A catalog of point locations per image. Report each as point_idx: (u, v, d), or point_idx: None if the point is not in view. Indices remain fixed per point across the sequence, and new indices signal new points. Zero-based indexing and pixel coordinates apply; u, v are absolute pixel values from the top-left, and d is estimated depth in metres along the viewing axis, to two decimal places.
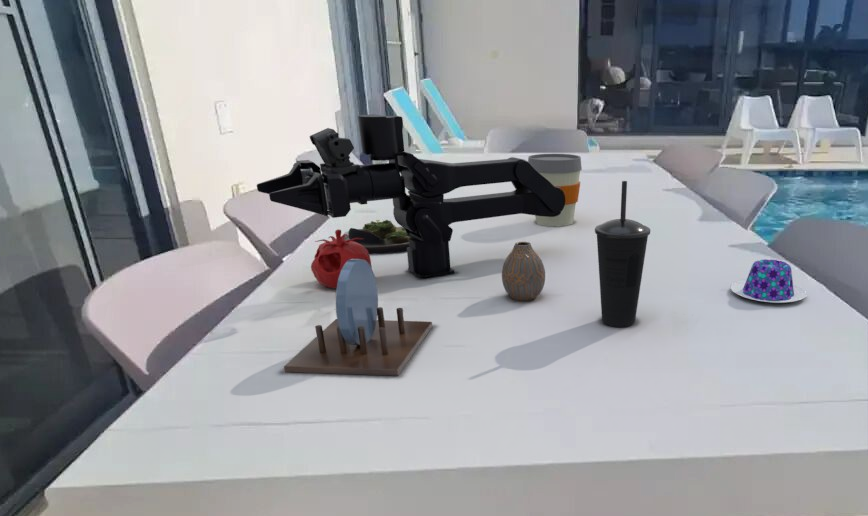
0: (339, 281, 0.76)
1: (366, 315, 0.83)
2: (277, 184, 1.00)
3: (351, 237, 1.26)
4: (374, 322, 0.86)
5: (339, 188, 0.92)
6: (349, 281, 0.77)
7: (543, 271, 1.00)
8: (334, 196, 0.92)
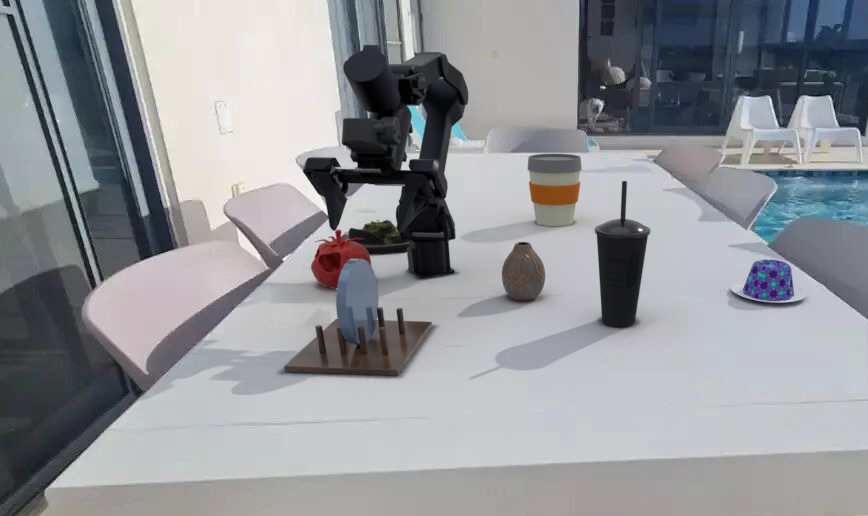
0: (340, 280, 0.77)
1: (367, 315, 0.83)
2: (336, 209, 0.87)
3: (351, 237, 1.26)
4: (374, 322, 0.86)
5: (441, 172, 0.87)
6: (349, 280, 0.77)
7: (543, 271, 1.00)
8: (442, 182, 0.87)
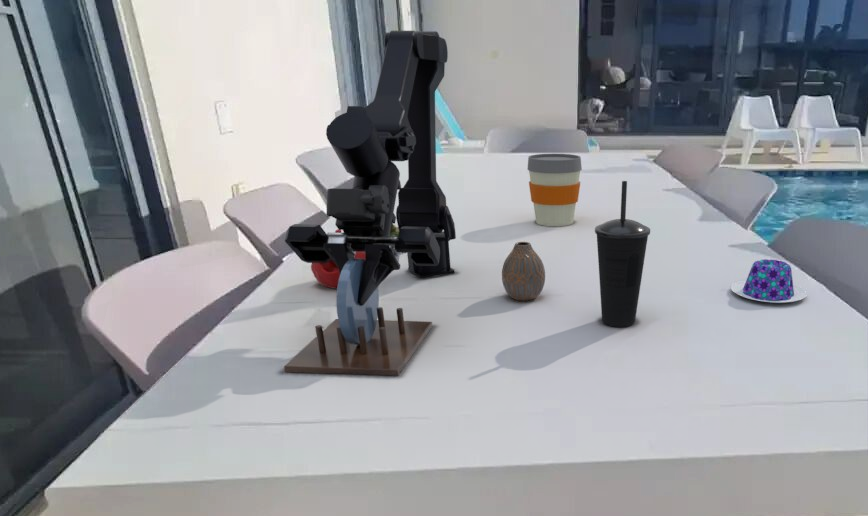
0: (340, 279, 0.77)
1: (367, 315, 0.83)
2: None
3: None
4: (374, 323, 0.86)
5: (433, 240, 0.82)
6: (350, 280, 0.77)
7: (543, 271, 1.00)
8: (434, 250, 0.82)
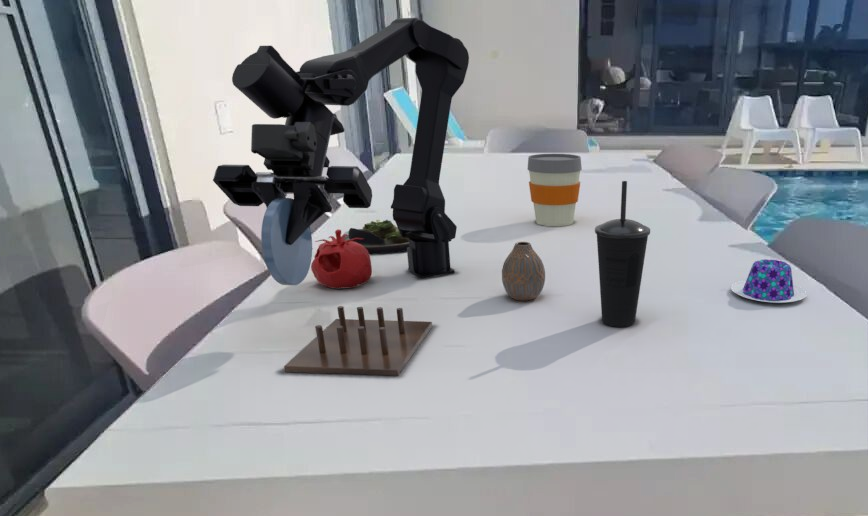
0: (265, 215, 0.77)
1: (298, 257, 0.83)
2: None
3: (351, 237, 1.26)
4: (307, 266, 0.86)
5: (362, 180, 0.82)
6: (275, 216, 0.77)
7: (543, 271, 1.00)
8: (364, 191, 0.82)
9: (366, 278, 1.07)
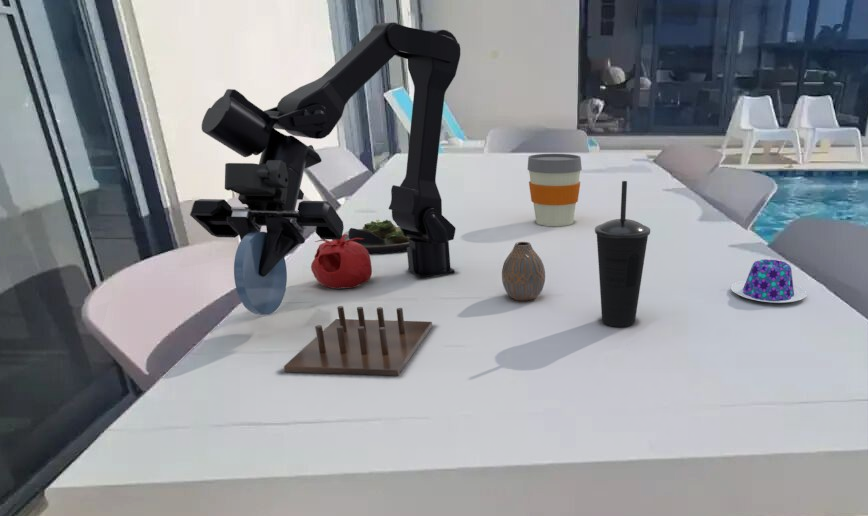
0: (238, 250, 0.80)
1: (271, 287, 0.87)
2: None
3: (351, 237, 1.26)
4: (281, 294, 0.89)
5: (333, 214, 0.85)
6: (247, 251, 0.81)
7: (543, 271, 1.00)
8: (335, 224, 0.86)
9: (366, 278, 1.07)
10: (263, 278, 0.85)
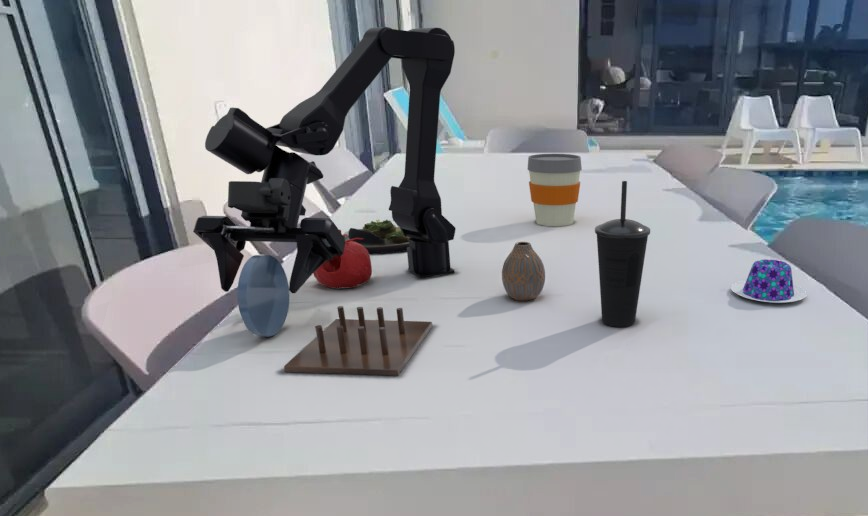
0: (241, 276, 0.81)
1: (274, 308, 0.88)
2: (228, 269, 0.86)
3: (351, 237, 1.26)
4: (285, 314, 0.90)
5: (335, 231, 0.86)
6: (250, 277, 0.81)
7: (543, 271, 1.00)
8: (337, 240, 0.87)
9: (366, 278, 1.07)
10: (266, 301, 0.85)
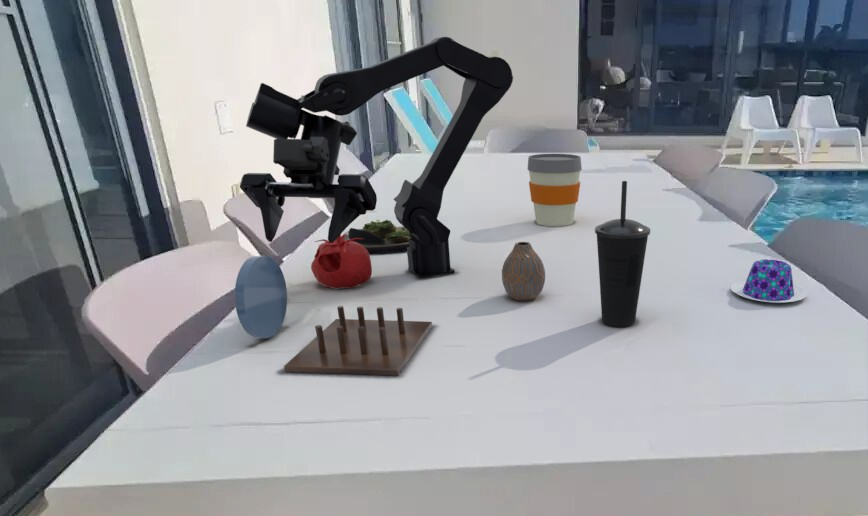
0: (237, 282, 0.80)
1: (273, 308, 0.87)
2: (272, 221, 0.94)
3: (351, 237, 1.26)
4: (283, 312, 0.90)
5: (368, 186, 0.94)
6: (247, 282, 0.81)
7: (543, 271, 1.00)
8: (370, 195, 0.95)
9: (366, 278, 1.07)
10: (264, 303, 0.85)
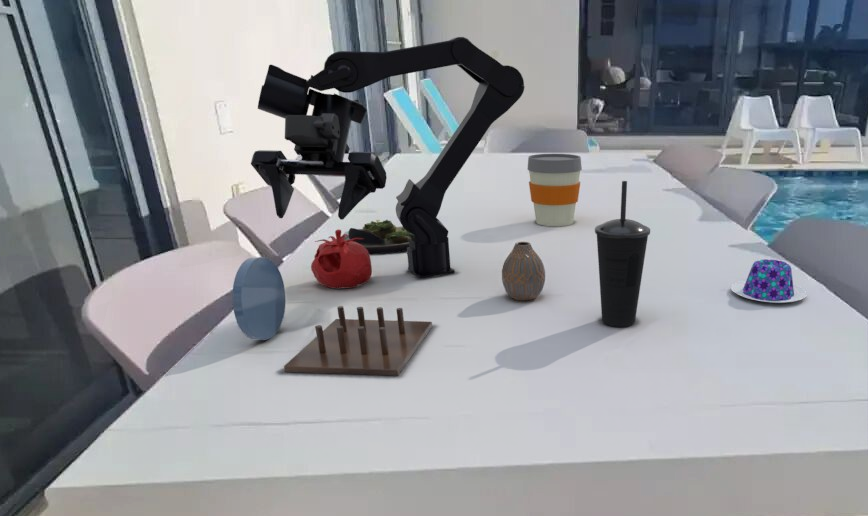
0: (234, 288, 0.80)
1: (271, 308, 0.87)
2: (282, 198, 0.95)
3: (351, 237, 1.26)
4: (282, 310, 0.90)
5: (378, 164, 0.95)
6: (244, 287, 0.80)
7: (543, 271, 1.00)
8: (380, 173, 0.96)
9: (366, 278, 1.07)
10: (262, 305, 0.85)
